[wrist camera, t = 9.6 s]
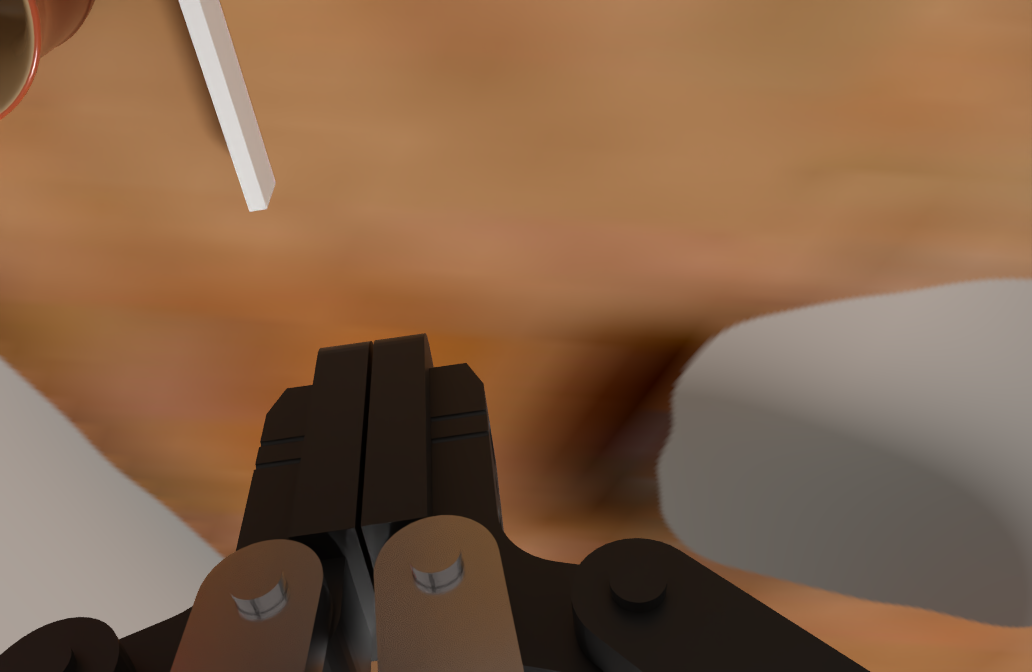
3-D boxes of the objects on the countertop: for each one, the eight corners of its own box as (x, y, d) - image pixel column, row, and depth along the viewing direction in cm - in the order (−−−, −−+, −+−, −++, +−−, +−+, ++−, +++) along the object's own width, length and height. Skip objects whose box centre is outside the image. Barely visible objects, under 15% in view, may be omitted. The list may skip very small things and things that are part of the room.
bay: (-318, -264, 31) (-432, -268, 26) (116, -331, 31) (69, -346, 27) (-42, 233, 42) (-92, 284, 38) (275, 182, 42) (260, 228, 38)
